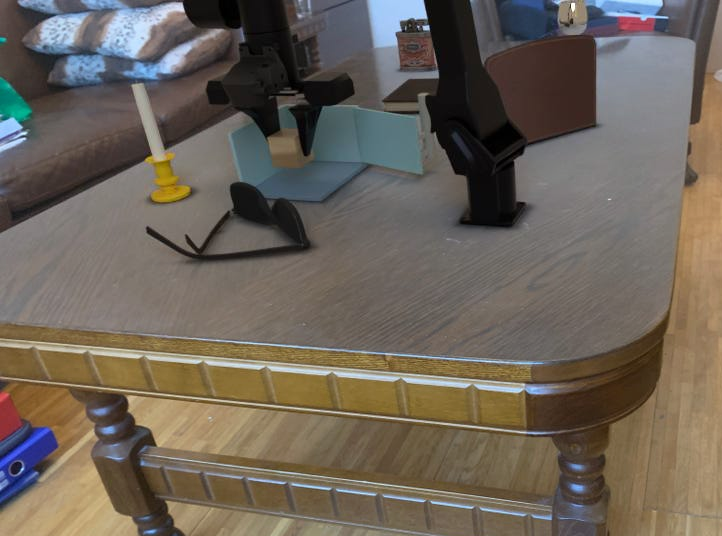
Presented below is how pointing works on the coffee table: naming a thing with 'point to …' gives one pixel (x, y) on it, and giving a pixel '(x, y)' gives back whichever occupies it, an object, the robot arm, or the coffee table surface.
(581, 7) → the wineglass
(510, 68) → the letter holder
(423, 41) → the lighter
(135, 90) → the candle
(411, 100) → the hardcover book
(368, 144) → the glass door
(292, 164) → the block
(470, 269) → the coffee table surface
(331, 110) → the enclosure
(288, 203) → the sunglasses
